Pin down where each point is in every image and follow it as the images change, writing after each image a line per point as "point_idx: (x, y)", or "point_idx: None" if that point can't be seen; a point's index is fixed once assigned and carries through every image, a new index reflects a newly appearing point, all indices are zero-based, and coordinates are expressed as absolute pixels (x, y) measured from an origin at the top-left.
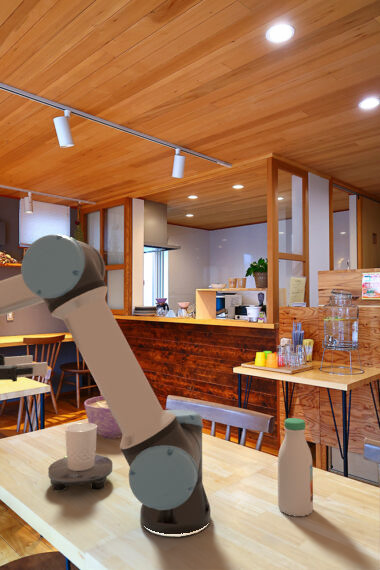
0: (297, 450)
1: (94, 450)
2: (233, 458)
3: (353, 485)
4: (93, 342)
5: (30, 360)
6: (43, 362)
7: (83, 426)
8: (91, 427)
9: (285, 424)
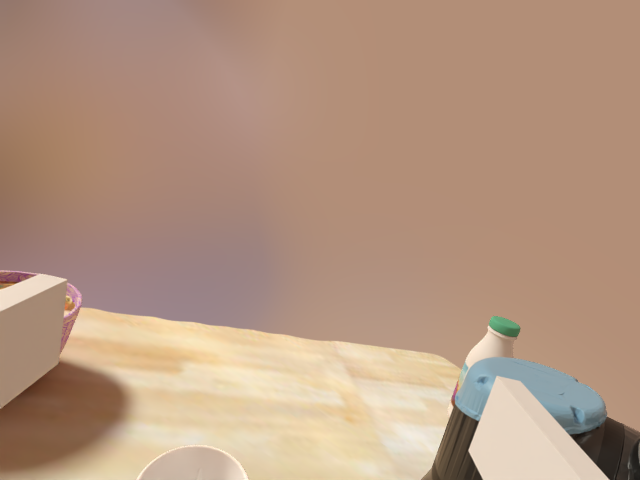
0: None
1: None
2: (294, 361)
3: (428, 358)
4: None
5: (50, 323)
6: (517, 392)
7: (157, 470)
8: (186, 458)
9: (507, 330)
